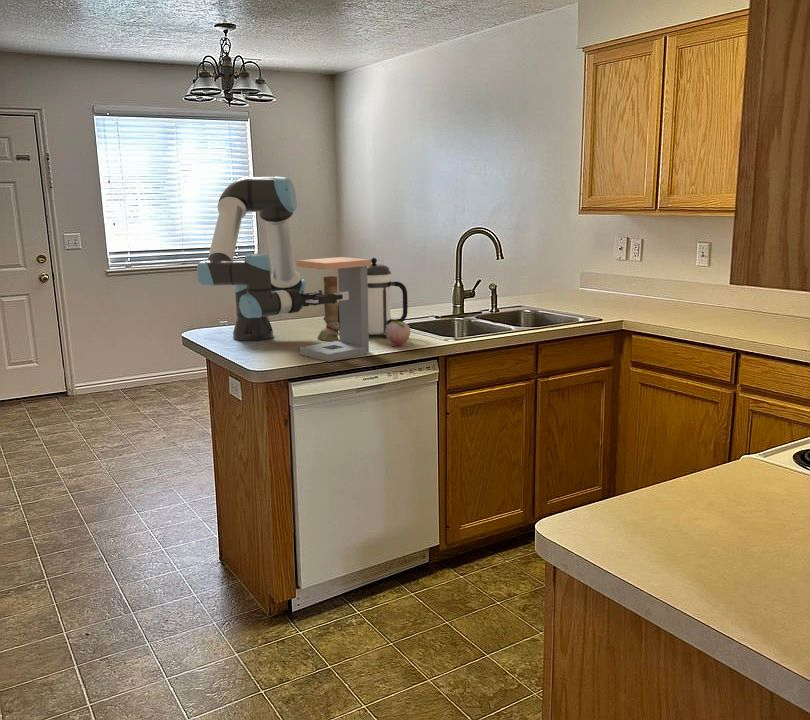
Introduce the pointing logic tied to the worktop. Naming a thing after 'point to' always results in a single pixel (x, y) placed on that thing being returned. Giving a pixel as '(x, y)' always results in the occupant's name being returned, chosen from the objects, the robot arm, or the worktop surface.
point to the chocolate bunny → (329, 331)
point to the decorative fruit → (397, 332)
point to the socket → (345, 309)
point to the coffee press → (381, 298)
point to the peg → (330, 308)
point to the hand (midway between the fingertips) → (343, 294)
